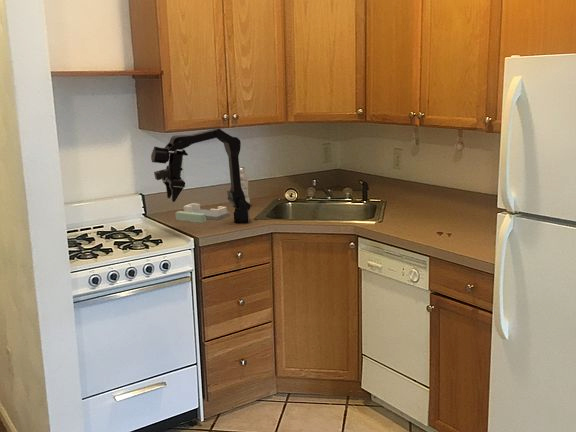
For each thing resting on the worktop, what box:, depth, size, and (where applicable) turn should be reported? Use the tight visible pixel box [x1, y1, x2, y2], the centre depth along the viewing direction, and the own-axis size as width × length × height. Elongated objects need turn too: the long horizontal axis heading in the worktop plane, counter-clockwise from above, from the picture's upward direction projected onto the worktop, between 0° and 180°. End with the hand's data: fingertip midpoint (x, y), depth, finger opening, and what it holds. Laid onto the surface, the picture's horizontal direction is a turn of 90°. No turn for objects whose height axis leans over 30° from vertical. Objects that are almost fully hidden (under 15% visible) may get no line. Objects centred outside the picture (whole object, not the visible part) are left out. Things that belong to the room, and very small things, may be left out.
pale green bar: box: [174, 210, 207, 224], centre depth 311 cm, size 16×3×4 cm, turn 59°
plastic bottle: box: [239, 166, 251, 205], centre depth 335 cm, size 6×7×20 cm
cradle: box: [183, 202, 231, 221], centre depth 320 cm, size 22×10×4 cm, turn 58°
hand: (171, 199), depth 289 cm, fingers open, 9 cm apart
